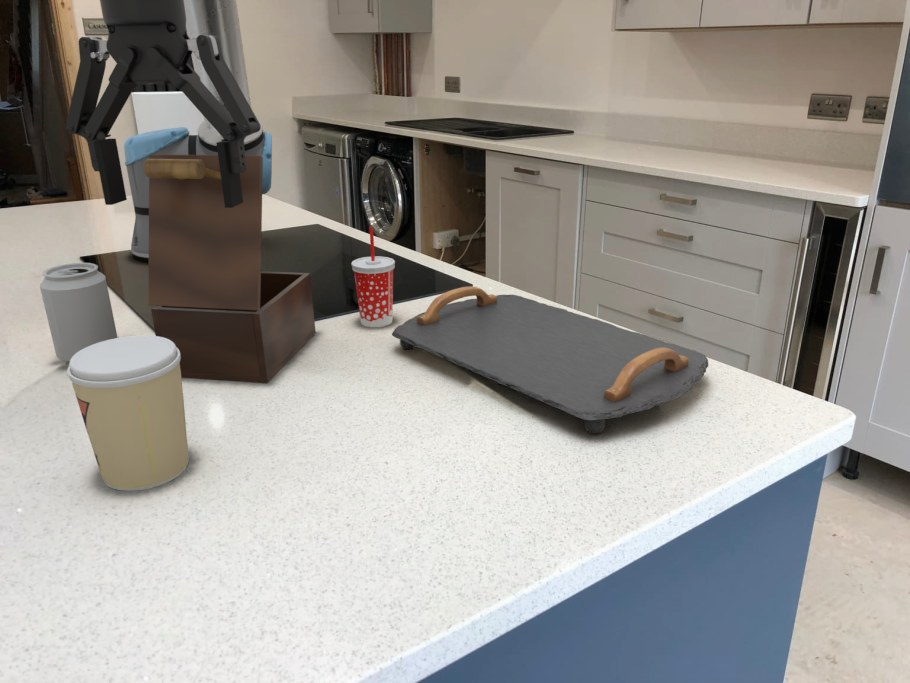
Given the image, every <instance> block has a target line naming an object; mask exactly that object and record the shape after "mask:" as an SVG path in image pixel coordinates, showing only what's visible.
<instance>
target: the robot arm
mask: <svg viewBox="0 0 910 683" xmlns="http://www.w3.org/2000/svg"><path fill="white" fill-rule="evenodd" d="M99 3H100V9H101V13H102V20H103V22H104V24H105V26H106V28H107V32H108V36H107V39H103V38H102V37H99V36H81V37H79V38H78V51H79V53H78V54H79V65H78V69H77V73H76V78H75V83H74V87H73V91H72V96H71V100H70V105H69V110H68V113H67V117H66V121H65V122H66V123H65V130H66V132H67V133H69V135H73V134H74V135H77V136H79V137H82V138H84V139H85V141H86V143H87V148H88V152H89V157H90V163H91V167H92V169H93V171H94V172H98V173H99V177H100V178H99V179H100V182H101V188H102V193H103V198H104V204H105V206H112V205H116V204H119V203H122V202H124V201H127V199H128V198H127V194H126V188H125V182H124V177H123V171H122V165H121V160H120V155H119V150H118V149H119V148H118V145H117V144H118V143H117V138H110V137H111V136H112V134H111V133H110V132H111V130H112V128H113V126H114V124H115V122H116V121H117V119H118V117H119V115H120V113H121V112H122V110H123V108H124V107H125V104H126V103H127V101H128V100H129V98H130V96H131V95H132V94H131V93H133V90H135V88H137V87H138V86H147V85H148V86H149V85H157V86H166V85H173V86H174V87H175V88H176V89H178V90H179V91H180V92H183V93H184V94H185V95H186V96H187V98H188V99H189V100H190V101H191V102H192V103H193V104H194V105H195V107H196V108H197V109H198V110H199V111H200V112H201V113H202V114H203V117H204V121H203V122H202V123H201V124H200V125H199V127H198V135H189V131H188V129H187V128H186V127H178V128H169V129H163V130H157V131H152V132H147V133H142V134H138V133H137V134H135V135H132V136H130V137H128V138H127V139H126V140H125V141H124V144H123V150H124V158H125V162H124V166H126V171H127V176H128V183H129V188H130V193H131V194H130V195H131V199H132V204H133V210H134V214H135V219H134V224H133V232H132V238H131V242H130V243H131V244H130V250H131V251H130V252H131V258H133V260H135V261H138V262H142V263H149V178H148V177H147V176H146V174H145V172H144V163H145V161H146V160H147V159H149V155H150V154H155V155H218V158H219V166H220V173H221V181H222V188H223V196H224V204H225V208H232V207H235V206H237V205H239V204H241V203H243V196H242V188H241V180H240V173H242V172H245V171H246V167H247V166H246V158H245V156H262V157H263V178H262V195H266V194H268V193H269V192H270V190H271V188H272V176H273V173H272V170H273V134H271V133H270V132H268V131H264V128H263V123H261V121H260V120H259V119H258V118H257V116H256V114H255V113H254V111H253V109H252V108H253V107H252V103H251V102H252V101H251V96H250V89H249V88H250V87H249V82H248V73H247V69H246V61H245V53H244V48H243V46H244V45H243V39H242V33H241V27H240V26H241V25H240V19H239V10H238V5H237V0H99ZM110 57H111V58H112V59H113V61H114V62H115V63H116V64H115V65H114V68H113V70H112V72H111V74H110V75H109V77H108V84H107V86H106V88H105V90H104V92H103V94H102V95H101V97H100V99H99V96H100V92H101V87H102V84H103V81H104V80H103V79H104V75H105V71H106V66H107V61H108V60H109V58H110ZM190 58H191V60H192V65H193V67H192V65H191V64H189V63H188V62H189V61H190Z"/></svg>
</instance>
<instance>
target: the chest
mask: <svg viewBox="0 0 910 683" xmlns="http://www.w3.org/2000/svg"><path fill="white" fill-rule="evenodd" d="M311 277H312V276H311V273H310V272H289V271H268V270H267V271H265V270H264V271H263V270H261V288H260V311H252V310H232V309H211V308H190V307H170V306H153V307H152V308H151V309H150V311H151V312H150V313H151V318H152V323H153V329H154V334H155V335H154V336H159V337H163V338H167V339H169V340H171V341H172V342H173V343H174V344H175V346H176V347H177V348H178V349H179V351H180V356H181V359H180V369H181V378H182V379H192V380H207V381H220V382H221V381H222V382H236V383H238V382H240V383H253V384H266V385H267V384H269V383H270V382H271V381H272V380H273V379H274V378H275V376H276V375H277V374H279V372H280V371H282V369H284V367H285V366H286V365H287V364H288V363H289V362H290V361H291V360H292V359H293V358H294V357H295V355H296V354H298V353H299V352H300V350H302V348H303V347H304V346H305V345H306V344H307V343H308V342H309V341H310V340H311V339H312V338H313V337H314V336H315V335H316V334H317V332H316V321H315V313H314V312H315V311H314V301H313V300H314V299H313V290H312V279H311Z"/></svg>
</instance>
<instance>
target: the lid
mask: <svg viewBox="0 0 910 683" xmlns="http://www.w3.org/2000/svg"><path fill="white" fill-rule="evenodd" d="M245 158H246V166H247V167H246V171H245V172H242V173H240V180H241V188H242V196H243V203H241V204H239V205H237V206H235V207H232V208H225V204H224V196H223V188H222V181H221V173H220V166H219V158H218V155H155V154H150V155H149V159H147V160H146V161H145V163H144V172H145V174H146V176H147V177H148V178H149V262H148V293H147V294H148V295H147V296H148V298H147V299H148V304H147V305H148V306H150V307H151V306H152V307H155V306H170V307H190V308H211V309H232V310H252V311H260V288H261V271H262V232H263V231H262V230H263V229H262V226H263V194H262V178H263V157H262V156H245Z"/></svg>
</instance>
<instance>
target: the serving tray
mask: <svg viewBox="0 0 910 683" xmlns="http://www.w3.org/2000/svg"><path fill="white" fill-rule="evenodd" d="M474 296H475V297H476V298H469V299H465V300H461V299H463V298H467V297H474ZM459 299H460V300H461V301H458V300H459ZM391 336H392V337H394V338H395V339H397V340H399V345H400V347H401V348H402V350H403V351H405V352H410V351H413V350H414V348H415V347H416V348H419V349H421V350H423V351H425V352H428V353H430V354H432V355H434V356H436V357H438V358H441V359H443V360H446V361H448V362H450V363H453V364H455V365H456V366H458V367H462V368H464V369H466V370H469V371H470V372H473V373H474V374H478V375H480V376H483V377H484V378H487V379H489V380H492V381H494V382H496V383H497V384H500V385H502V386H505V387H507V388H510V389H513V390H514V391H517V392H519V393H521V394H524V395H526V396H528V397H530V398H533V399H535V400H537V401H540V402H542V403H543V404H544V403H545V404H546V405H548V406H550V407H553V408H556V409H559V410H561V411H562V412H565V413H567V414H569V415H572V416H574V417H576V418H579V419H582V420H584V421H583V425H584V428H585V429H586V432H587V433H588V434H589V435H591V436H598V435H600V434H601V433H602V431H604V429H605V427H606V420H609V419H616V418H622V417H623V416H626V415H631V414H635V413H641V412H644V411H648V410H650V409H652V408H654V407H657V406H659V405H662V404H665V403H667V402H671V401H673V400H676V399H678V398H679V397H681V396H683V395H684V394H686V392H688V391H690V390H692V388H693V387H694V386H695V385H696V384H697V383H699V382H701V380H702V379H703V378H704V376H705V373H706V372H707V369H708V368H709V359H708V358H707V356H706V355H705V354H704V353H702V352H699V351H697V350H694V349H690V348H687V347H684V346H681V345H678V344H675V343H671V342H668V341H665V340H662V339H659V338H656V337H653V336H650V335H647V334H644V333H641V332H636V331H631V330H629V329H625V328H622V327H619V326H617V325H614V324H612V323H609V322H606V321H602V320H600V319H597V318H592V317H589V316H586V315H583V314H582V315H581V314H579V313H575V312H573V311H569V310H567V309H565V308H560V307H556V306H553V305H549V304H547V303H543V302H539V301H536V300H534V299H530V298H527V297H524V296H522V295H517V294H496V295H495V294H492V293H491V294H488V293H487V292H486V291H485V290H483V289H482V288H481V287H477V286H472V285H471V286H462V287H458V288H454V289H451V290H449V291H446V292H443V293H441V294H440V295H438V296H437V297H435V299H434V300H433V301H432V302H431V303H430V304H429V306H428V307H427V309H426V310H425V311H424V312H420V313H418V314H417V315H415V316H414V317H411V318H410V319H409V318H408V320H406V321H405V322H404V323H402V324H400V325H398V326H397V327H395V328H394V329H393V331H392V332H391Z"/></svg>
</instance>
